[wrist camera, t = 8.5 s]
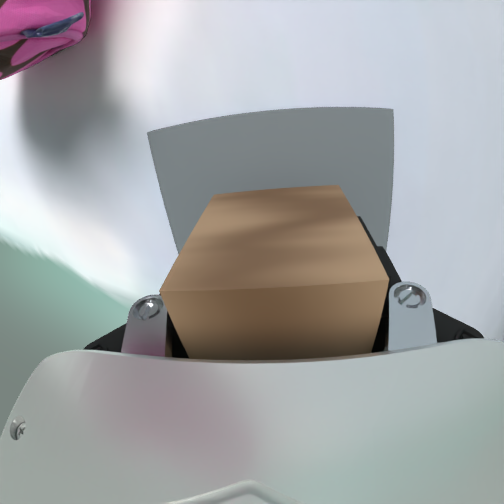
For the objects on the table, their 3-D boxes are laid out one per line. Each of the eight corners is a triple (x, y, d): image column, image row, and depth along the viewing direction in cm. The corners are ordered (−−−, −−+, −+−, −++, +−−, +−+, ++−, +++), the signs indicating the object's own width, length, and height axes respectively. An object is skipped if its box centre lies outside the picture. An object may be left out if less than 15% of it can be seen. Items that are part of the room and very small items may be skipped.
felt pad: (388, 108, 10) (393, 109, 10) (374, 298, 16) (376, 304, 15) (151, 130, 12) (147, 132, 11) (199, 307, 17) (198, 313, 17)
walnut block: (338, 184, 10) (389, 279, 5) (335, 285, 13) (356, 395, 8) (213, 194, 11) (159, 291, 6) (233, 290, 14) (210, 398, 9)
